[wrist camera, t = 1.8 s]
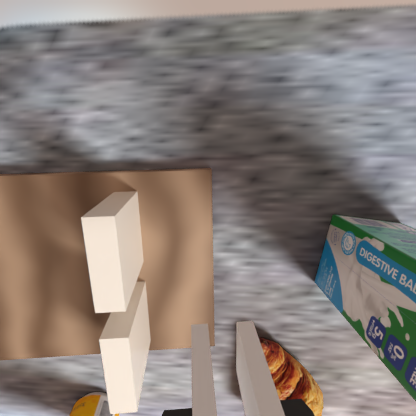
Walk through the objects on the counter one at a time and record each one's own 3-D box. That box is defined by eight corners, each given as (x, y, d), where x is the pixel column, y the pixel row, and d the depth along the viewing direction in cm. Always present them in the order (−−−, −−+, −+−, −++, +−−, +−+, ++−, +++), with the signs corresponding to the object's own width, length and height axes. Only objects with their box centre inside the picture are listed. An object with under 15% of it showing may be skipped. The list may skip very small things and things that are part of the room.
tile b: (129, 341, 33) (107, 414, 25) (122, 282, 31) (96, 339, 23) (150, 340, 33) (137, 411, 25) (145, 281, 31) (128, 337, 23)
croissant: (310, 405, 45) (357, 445, 38) (268, 458, 41) (312, 514, 34) (264, 306, 39) (311, 331, 32) (210, 357, 35) (249, 398, 28)
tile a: (120, 262, 31) (92, 313, 22) (112, 192, 28) (78, 217, 20) (143, 261, 31) (125, 311, 22) (137, 191, 29) (114, 216, 20)
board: (5, 350, 34) (-3, 360, 33) (-40, 175, 28) (-52, 177, 27) (213, 337, 36) (214, 345, 34) (210, 168, 30) (211, 169, 29)
